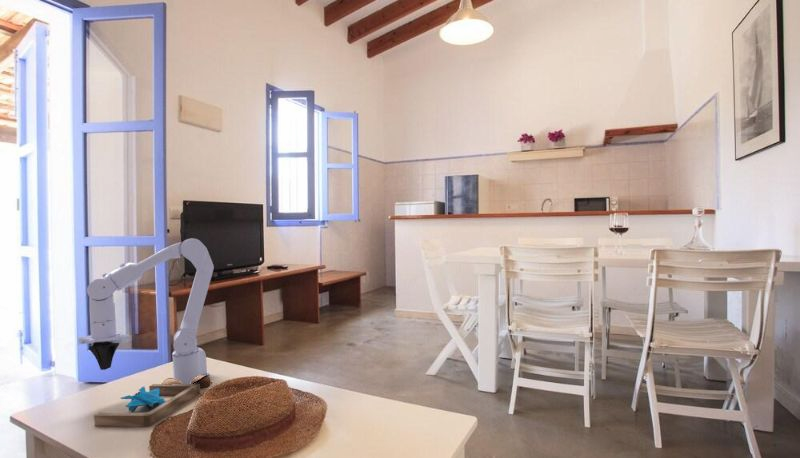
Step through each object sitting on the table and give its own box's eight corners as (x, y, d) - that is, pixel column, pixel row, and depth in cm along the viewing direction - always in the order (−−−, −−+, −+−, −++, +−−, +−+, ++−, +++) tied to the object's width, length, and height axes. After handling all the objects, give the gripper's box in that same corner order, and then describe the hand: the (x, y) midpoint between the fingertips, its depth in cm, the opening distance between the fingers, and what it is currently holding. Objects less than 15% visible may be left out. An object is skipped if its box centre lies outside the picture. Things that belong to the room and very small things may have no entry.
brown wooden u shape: (153, 392, 113) (153, 384, 113) (200, 392, 111) (199, 383, 111) (94, 426, 94) (94, 415, 94) (149, 426, 93) (148, 415, 93)
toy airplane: (118, 420, 97) (117, 403, 97) (125, 404, 106) (125, 389, 106) (172, 408, 102) (171, 392, 102) (175, 395, 111) (174, 380, 111)
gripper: (66, 324, 108) (69, 374, 108) (114, 323, 106) (116, 373, 106) (90, 318, 115) (92, 365, 115) (134, 317, 113) (137, 364, 113)
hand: (105, 368), depth 111 cm, fingers closed
